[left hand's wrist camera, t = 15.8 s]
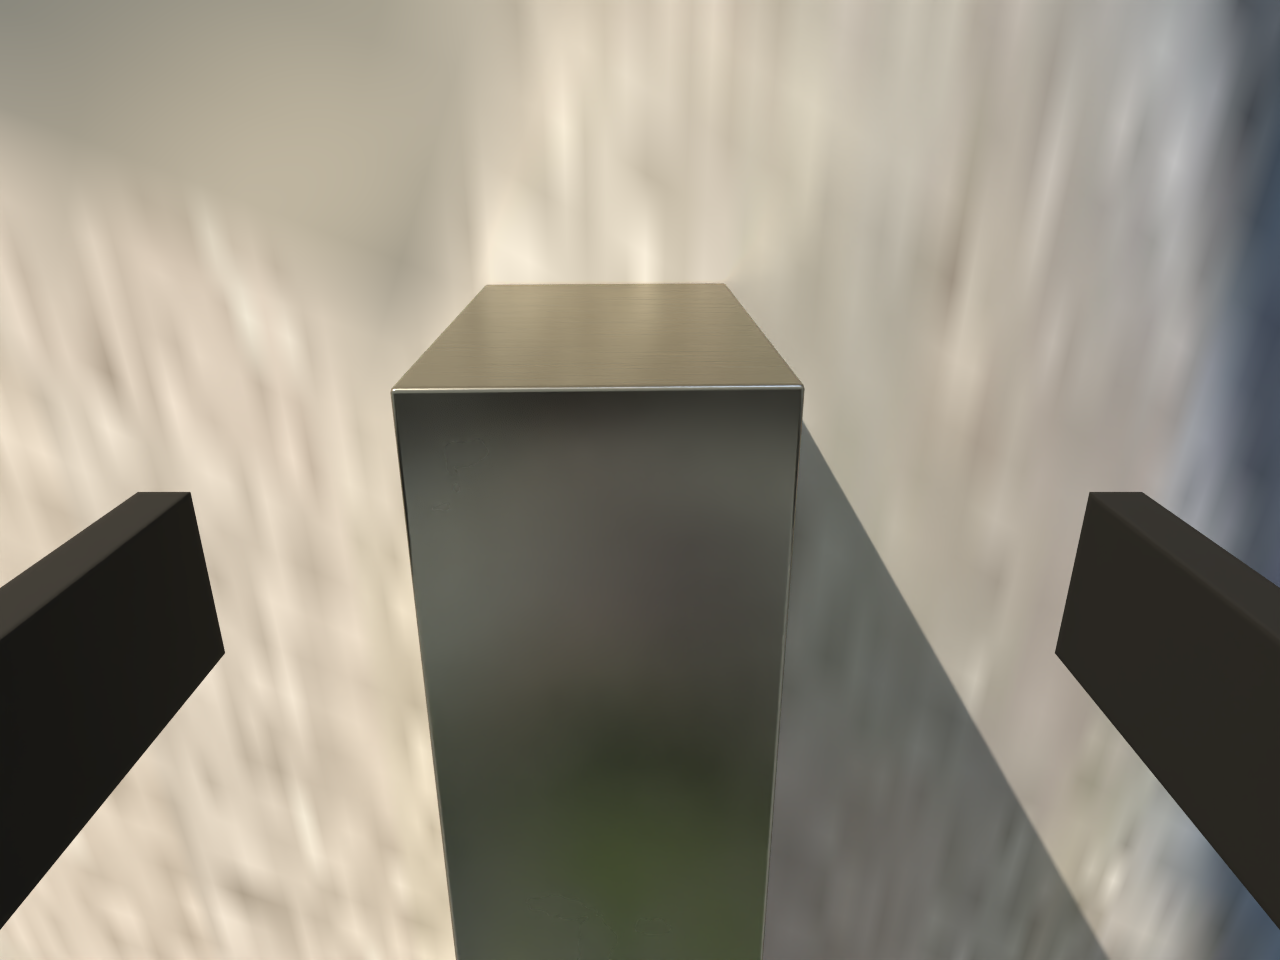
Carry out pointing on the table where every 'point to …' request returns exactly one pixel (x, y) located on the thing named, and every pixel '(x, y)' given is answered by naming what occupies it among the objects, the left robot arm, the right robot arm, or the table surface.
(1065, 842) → the table surface
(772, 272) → the table surface
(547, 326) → the bar
